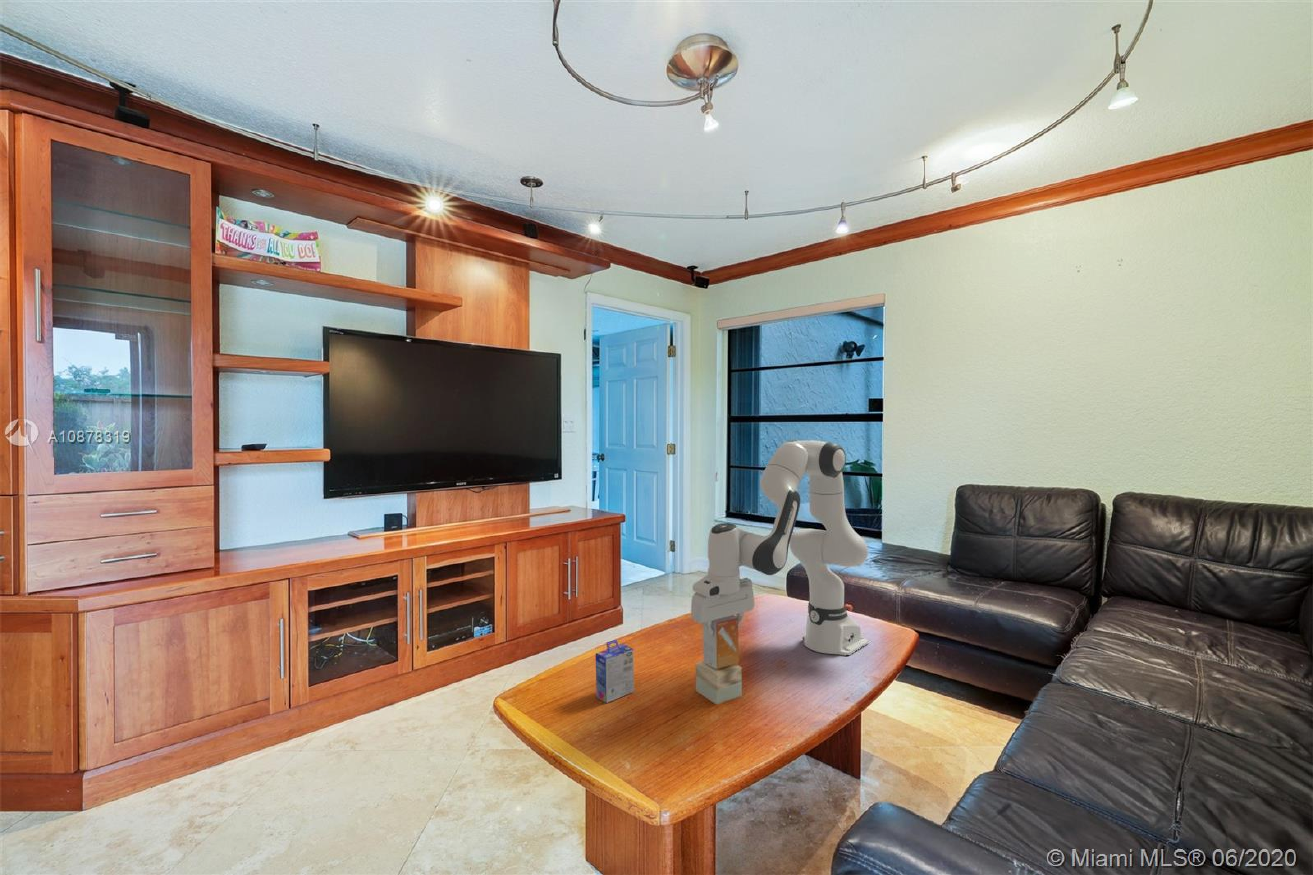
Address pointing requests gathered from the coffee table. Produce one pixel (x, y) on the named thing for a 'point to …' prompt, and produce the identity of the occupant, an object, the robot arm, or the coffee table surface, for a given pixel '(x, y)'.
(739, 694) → the tower base block
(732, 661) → the small box
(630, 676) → the ink cartridge box
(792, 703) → the coffee table surface
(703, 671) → the tower top block
